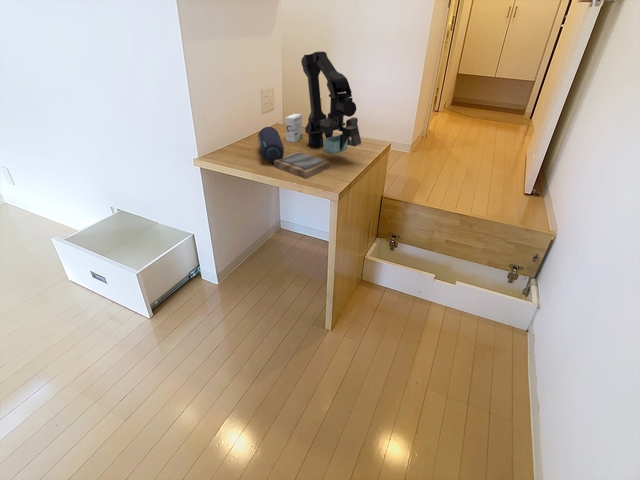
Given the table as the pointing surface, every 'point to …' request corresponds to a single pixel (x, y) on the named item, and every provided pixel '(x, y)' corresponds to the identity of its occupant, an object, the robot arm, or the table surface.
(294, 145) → the table surface
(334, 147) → the box
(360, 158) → the table surface
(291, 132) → the ink box
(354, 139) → the phone stand
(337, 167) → the table surface
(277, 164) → the walnut stand
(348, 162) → the table surface
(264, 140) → the portable speaker
